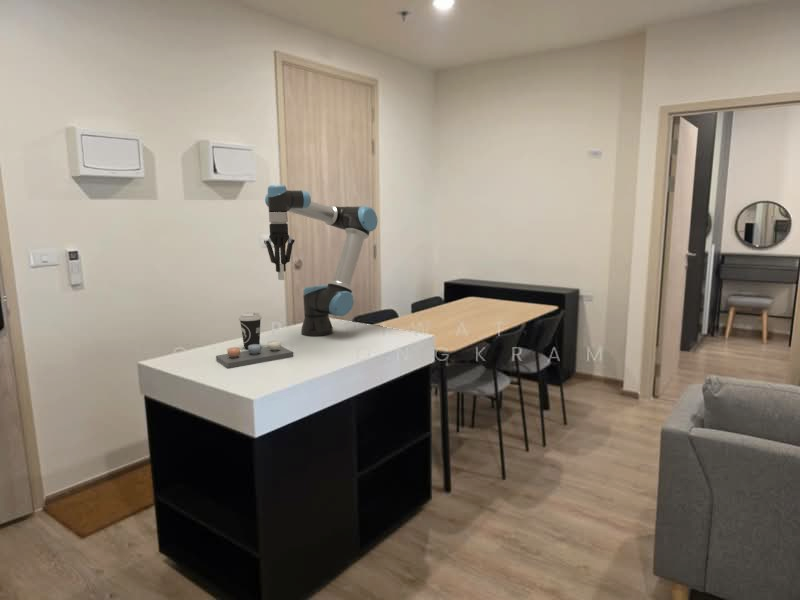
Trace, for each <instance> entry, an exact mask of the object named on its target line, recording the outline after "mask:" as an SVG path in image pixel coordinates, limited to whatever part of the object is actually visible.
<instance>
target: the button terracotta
mask: <svg viewBox="0 0 800 600" xmlns="http://www.w3.org/2000/svg"><path fill="white" fill-rule="evenodd" d="M226 351H227V354H228V356H231V359H234V358H237V356H239V355H240V352H241V348H240V347H238V346H237V347H229V348H227V350H226Z"/></svg>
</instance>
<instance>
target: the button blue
mask: <svg viewBox="0 0 800 600" xmlns="http://www.w3.org/2000/svg"><path fill="white" fill-rule="evenodd" d="M261 348H262V345H261V344H252V345H249V346H248V349H247V351H248V350H249V353H252V355H257V354H258V352H260V351H261Z"/></svg>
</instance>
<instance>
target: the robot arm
mask: <svg viewBox="0 0 800 600" xmlns="http://www.w3.org/2000/svg"><path fill="white" fill-rule="evenodd" d="M264 202H265V204H266V207H267V208H268V222H269V236H268V237H269V238H267V239H266V240H265V239H264V240H263V243H264V245H265V247H266V250H267V253H268V256H269V259H270V262H271V263H272V264H274V265H275V272H276V273H277V278H278V280H280V281H284V280H285V272H286V271H287V267H286V265H287V263H290V262H291V256H292V250H293V245H294V243H295V239H292V237H290V235H289V224H288V222H289V221H288V220H289V218H288V217H289V216H288V212H289V213H292V214H294V215H295V214H296V215H299V216H303V217H307V218H309V219H310V218H311V219H314V220H317V221H320V222H324V223H325V224H326V225H328V226H332V227H334V228H337V229H340V230H343V231H345V233H346V236H345V239H344V243H343V245H342V250H341V253H340V255H339V259H338V262H337V264H336V269H335V272H334V276H333V279H332V280H331V281H330V282H328V284H327V285H326V284H325V285H321V284H320V285H314V286H307V287H305V288H304V289H303V311H304V312H303V313H304V317H303V322H302V325H301V331H300V332H301V335H303V336H306V337H323V336H328V335H331V334H333V333H334V330H333V329H334V327H333V326H332V322H331V319H330V317H329V316H330V315H332V316H335V317H336V316H337V317H338V316H340V317H341V316H346V315H347V314H349V313H350V311H352V309H353V308H354V302H355V300H354V296H353V294H352V292H353V290H352V288H351V286H352V281H353V277H354V274H355V271H356V268H357V263H358V260H359V258H360V254H361V251H362V248H363V244H364V241H365V239H368V238H369V236H370V233H371V232H374V231H375V230H376V228H377V226H378V221H379V220H378V216H377V213H376V211H375V210H374V209H373V208H372V207H370V206H366V205H360V206H359V205H358V206H336V205H329V206H328V205H325V204H323V203H318V202H315V201H313V200H312V196H311V195H310V193H309V192H308V191H307V190H288V189H287V186H286V185H285V184H270V185H268V186H267V194H266V195H265V198H264ZM286 244H287V245H286ZM272 245H273V246H272ZM273 248H274V250H273Z"/></svg>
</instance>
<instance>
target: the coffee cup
mask: <svg viewBox="0 0 800 600" xmlns="http://www.w3.org/2000/svg"><path fill="white" fill-rule="evenodd" d="M261 319H262V315H261V314H260V313H259V312H256V311H255V312H243V313H240V316H239V318H238V321H239V323H240V330H241V335H242V341H243V342H242V343H243V348H244V350H248V346H249V345H252V344H260V343H261ZM260 345H261V344H260Z"/></svg>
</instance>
